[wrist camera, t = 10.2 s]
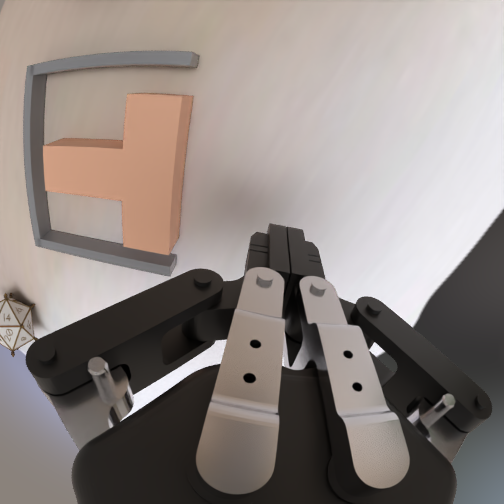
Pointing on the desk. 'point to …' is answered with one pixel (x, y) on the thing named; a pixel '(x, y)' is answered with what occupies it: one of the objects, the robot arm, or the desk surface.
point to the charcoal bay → (35, 165)
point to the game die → (15, 323)
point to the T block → (132, 168)
